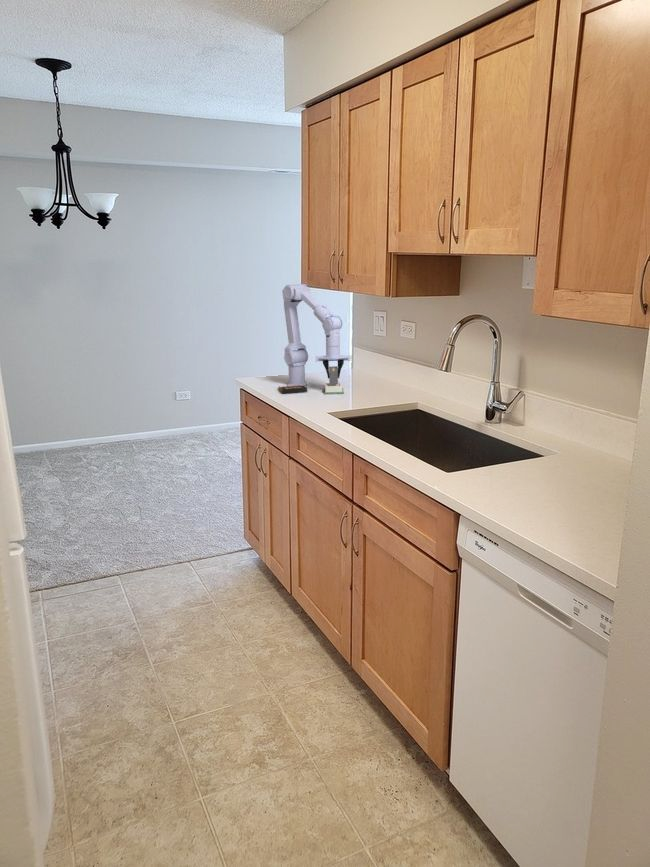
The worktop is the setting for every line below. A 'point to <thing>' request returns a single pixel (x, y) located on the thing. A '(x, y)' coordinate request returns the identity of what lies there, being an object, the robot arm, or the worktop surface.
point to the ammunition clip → (292, 389)
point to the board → (333, 389)
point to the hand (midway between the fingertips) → (333, 377)
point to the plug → (333, 375)
